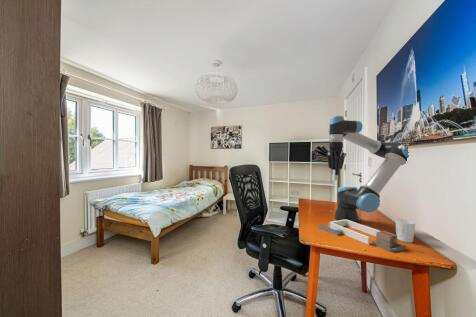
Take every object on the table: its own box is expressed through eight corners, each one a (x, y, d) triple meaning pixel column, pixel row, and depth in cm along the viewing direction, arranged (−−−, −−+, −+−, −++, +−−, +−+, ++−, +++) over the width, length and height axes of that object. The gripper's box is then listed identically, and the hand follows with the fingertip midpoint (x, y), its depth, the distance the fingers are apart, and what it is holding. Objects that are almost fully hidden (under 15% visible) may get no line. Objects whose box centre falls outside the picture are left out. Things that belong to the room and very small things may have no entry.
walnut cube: (383, 242, 99) (384, 230, 99) (397, 247, 93) (397, 235, 93) (376, 244, 96) (376, 232, 96) (389, 249, 91) (389, 237, 91)
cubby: (346, 224, 123) (346, 219, 123) (386, 239, 101) (387, 233, 101) (328, 227, 117) (328, 222, 117) (367, 244, 95) (368, 237, 95)
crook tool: (323, 226, 119) (323, 223, 119) (342, 233, 109) (342, 230, 109) (318, 228, 116) (318, 225, 116) (337, 235, 106) (337, 232, 106)
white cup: (414, 240, 102) (415, 221, 102) (414, 244, 96) (414, 225, 96) (395, 235, 108) (396, 217, 107) (394, 239, 102) (394, 221, 102)
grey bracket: (384, 240, 100) (384, 238, 100) (405, 248, 92) (405, 246, 92) (372, 244, 96) (372, 241, 96) (392, 252, 88) (392, 250, 88)
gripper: (322, 142, 121) (321, 179, 121) (341, 140, 109) (340, 182, 109) (331, 142, 124) (330, 178, 124) (350, 141, 112) (349, 181, 112)
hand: (335, 180), depth 117 cm, fingers closed
